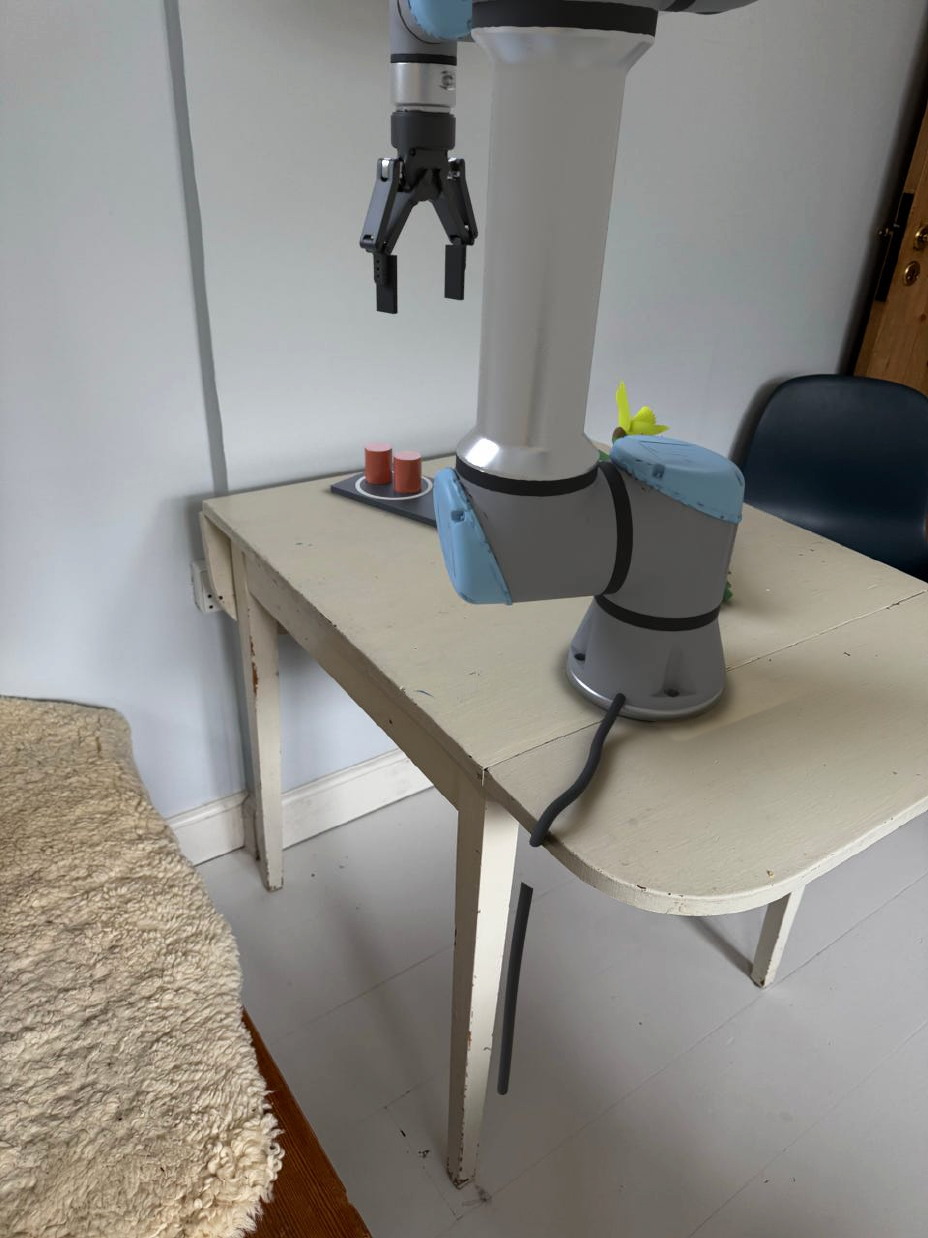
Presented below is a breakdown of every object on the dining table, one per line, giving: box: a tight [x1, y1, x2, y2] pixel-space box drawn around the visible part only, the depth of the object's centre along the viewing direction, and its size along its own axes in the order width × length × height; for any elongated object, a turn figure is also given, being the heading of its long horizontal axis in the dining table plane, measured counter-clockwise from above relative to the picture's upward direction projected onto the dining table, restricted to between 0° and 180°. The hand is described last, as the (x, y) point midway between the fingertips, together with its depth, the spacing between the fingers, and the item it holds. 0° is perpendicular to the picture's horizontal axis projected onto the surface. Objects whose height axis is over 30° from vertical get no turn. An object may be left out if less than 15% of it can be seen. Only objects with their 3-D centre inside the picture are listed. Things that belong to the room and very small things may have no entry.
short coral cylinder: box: [364, 442, 394, 484], centre depth 122 cm, size 4×4×5 cm
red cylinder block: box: [392, 450, 423, 494], centre depth 120 cm, size 4×4×5 cm
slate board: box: [330, 465, 437, 528], centre depth 120 cm, size 12×24×1 cm, turn 54°
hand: (422, 305), depth 107 cm, fingers open, 13 cm apart
